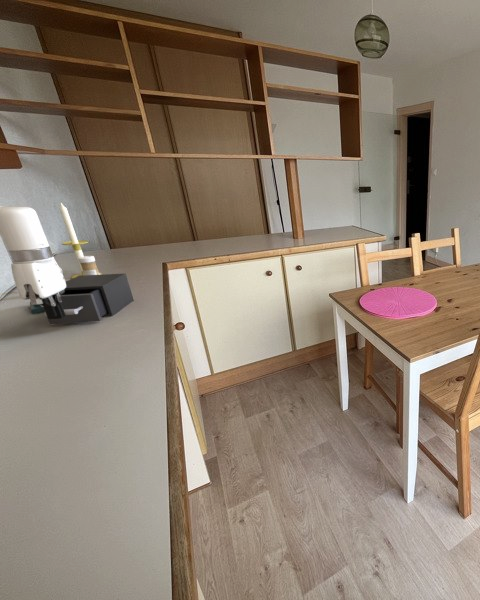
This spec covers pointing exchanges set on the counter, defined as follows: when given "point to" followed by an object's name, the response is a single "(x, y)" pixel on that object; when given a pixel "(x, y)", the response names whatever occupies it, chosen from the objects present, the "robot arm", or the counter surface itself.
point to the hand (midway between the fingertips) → (57, 317)
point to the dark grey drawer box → (106, 289)
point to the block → (36, 309)
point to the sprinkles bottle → (88, 265)
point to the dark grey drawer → (81, 306)
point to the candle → (72, 237)
